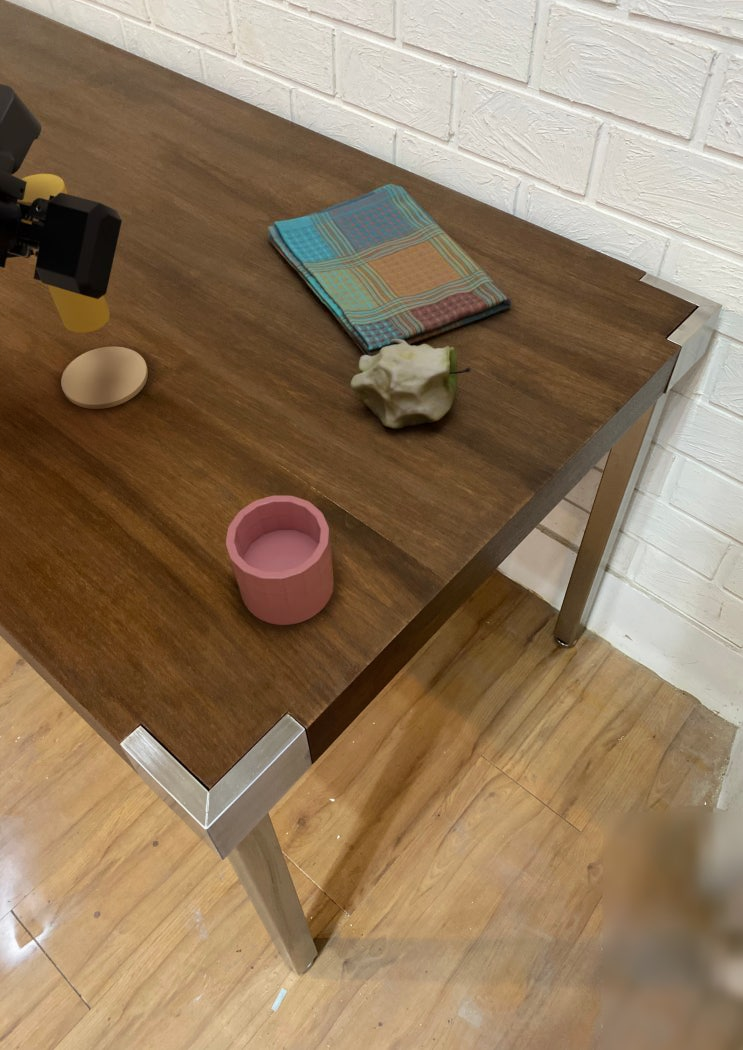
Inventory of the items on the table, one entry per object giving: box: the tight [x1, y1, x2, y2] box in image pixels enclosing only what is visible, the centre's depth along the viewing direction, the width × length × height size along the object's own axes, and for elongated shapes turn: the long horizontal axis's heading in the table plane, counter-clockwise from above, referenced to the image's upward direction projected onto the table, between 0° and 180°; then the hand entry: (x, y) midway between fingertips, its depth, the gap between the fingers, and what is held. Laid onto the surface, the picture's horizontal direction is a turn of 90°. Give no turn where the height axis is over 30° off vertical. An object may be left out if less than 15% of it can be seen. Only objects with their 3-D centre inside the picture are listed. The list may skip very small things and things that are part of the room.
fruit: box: [350, 339, 472, 430], centre depth 69 cm, size 9×9×8 cm
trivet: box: [60, 345, 149, 410], centre depth 74 cm, size 8×8×1 cm
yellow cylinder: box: [17, 173, 111, 334], centre depth 63 cm, size 4×4×12 cm
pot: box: [225, 495, 335, 626], centre depth 57 cm, size 7×7×6 cm
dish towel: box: [266, 183, 512, 356], centre depth 82 cm, size 17×23×2 cm
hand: (75, 251), depth 64 cm, fingers closed on yellow cylinder, 4 cm apart
